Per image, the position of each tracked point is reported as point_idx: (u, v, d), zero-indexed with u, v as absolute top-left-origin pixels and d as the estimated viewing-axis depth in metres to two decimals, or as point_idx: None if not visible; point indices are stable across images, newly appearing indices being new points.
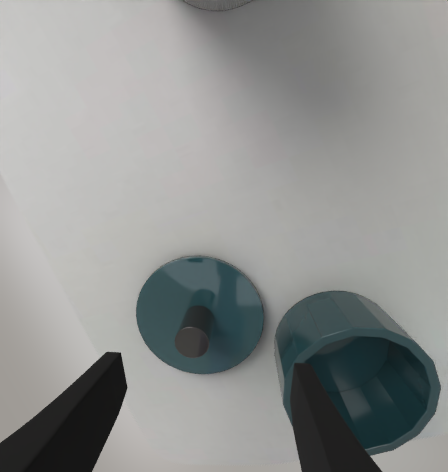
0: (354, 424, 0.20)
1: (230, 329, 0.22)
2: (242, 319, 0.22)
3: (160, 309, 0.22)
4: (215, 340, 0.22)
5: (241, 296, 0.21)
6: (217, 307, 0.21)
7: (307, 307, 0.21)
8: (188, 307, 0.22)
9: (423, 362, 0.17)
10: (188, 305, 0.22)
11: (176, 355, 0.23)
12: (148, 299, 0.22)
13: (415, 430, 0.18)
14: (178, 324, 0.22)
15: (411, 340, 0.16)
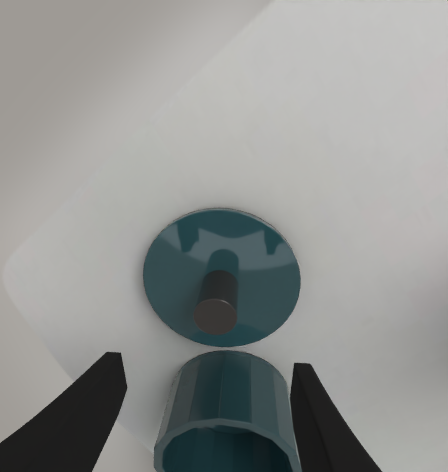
0: (177, 452, 0.21)
1: None
2: (235, 327, 0.19)
3: (216, 240, 0.17)
4: None
5: (263, 321, 0.19)
6: (241, 301, 0.18)
7: (273, 380, 0.20)
8: (231, 272, 0.17)
9: None
10: (233, 271, 0.17)
11: (161, 271, 0.18)
12: (225, 223, 0.16)
13: None
14: (204, 265, 0.17)
15: None
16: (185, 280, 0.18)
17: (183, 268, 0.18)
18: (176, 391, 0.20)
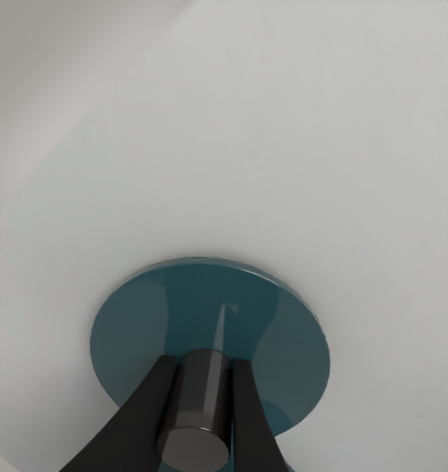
0: None
1: None
2: None
3: (198, 307, 0.11)
4: None
5: (271, 416, 0.12)
6: None
7: None
8: (222, 351, 0.11)
9: None
10: (225, 351, 0.11)
11: (116, 348, 0.12)
12: (212, 283, 0.10)
13: None
14: (181, 341, 0.11)
15: None
16: (153, 360, 0.12)
17: (150, 343, 0.11)
18: None
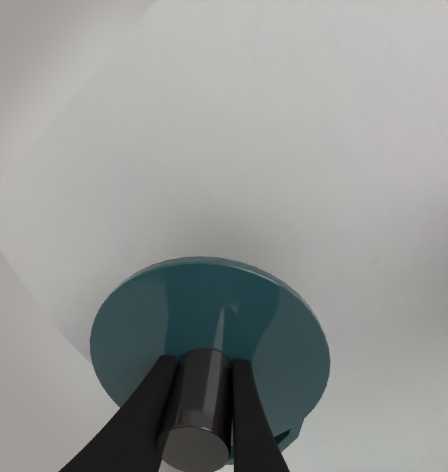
0: None
1: None
2: None
3: (198, 307, 0.11)
4: None
5: (271, 416, 0.12)
6: None
7: None
8: (222, 351, 0.11)
9: None
10: (225, 350, 0.11)
11: (116, 348, 0.12)
12: (212, 282, 0.10)
13: None
14: (181, 341, 0.11)
15: None
16: (153, 360, 0.12)
17: (150, 343, 0.11)
18: None
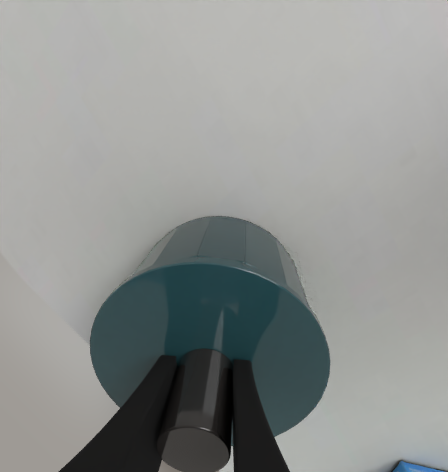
0: None
1: None
2: None
3: (198, 307, 0.11)
4: None
5: (271, 416, 0.12)
6: None
7: (276, 245, 0.15)
8: (222, 351, 0.11)
9: None
10: (225, 351, 0.11)
11: (116, 348, 0.12)
12: (212, 283, 0.10)
13: None
14: (181, 341, 0.11)
15: None
16: (153, 360, 0.12)
17: (150, 344, 0.11)
18: (144, 260, 0.14)
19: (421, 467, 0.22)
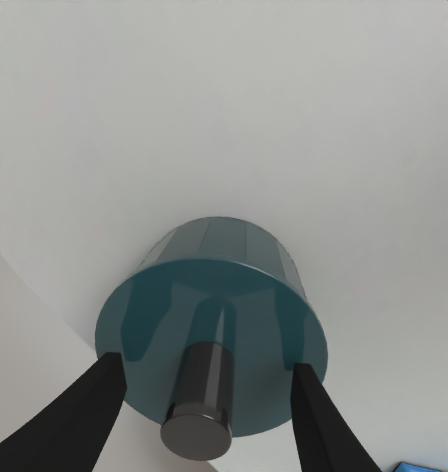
0: None
1: None
2: None
3: (200, 301, 0.11)
4: None
5: (270, 408, 0.13)
6: (239, 382, 0.12)
7: (277, 246, 0.14)
8: (223, 344, 0.12)
9: None
10: (226, 343, 0.12)
11: (120, 341, 0.12)
12: (214, 277, 0.10)
13: None
14: (183, 334, 0.12)
15: None
16: (157, 353, 0.12)
17: (154, 337, 0.12)
18: (144, 260, 0.14)
19: (422, 468, 0.22)
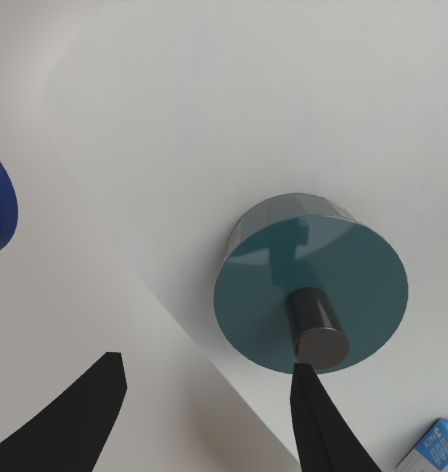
0: None
1: None
2: None
3: (309, 252, 0.14)
4: (278, 330, 0.16)
5: (353, 346, 0.16)
6: None
7: None
8: (323, 289, 0.14)
9: None
10: (325, 289, 0.14)
11: (236, 288, 0.15)
12: (324, 232, 0.13)
13: None
14: (290, 281, 0.14)
15: None
16: (265, 298, 0.15)
17: (265, 284, 0.15)
18: (240, 228, 0.17)
19: None
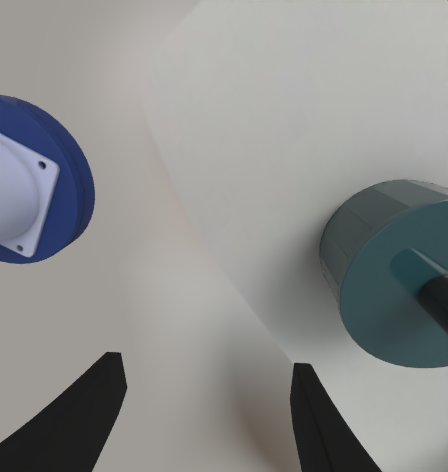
0: None
1: (426, 334, 0.15)
2: (445, 345, 0.15)
3: None
4: (405, 321, 0.15)
5: None
6: None
7: None
8: None
9: None
10: None
11: (369, 276, 0.14)
12: None
13: None
14: (430, 268, 0.14)
15: None
16: (398, 287, 0.14)
17: (401, 271, 0.14)
18: (353, 215, 0.17)
19: None
